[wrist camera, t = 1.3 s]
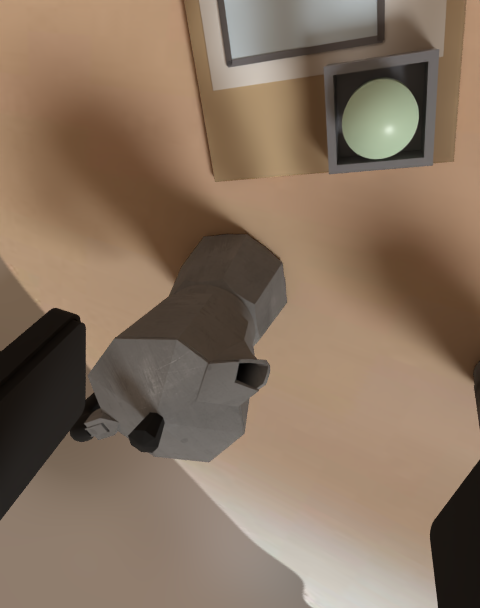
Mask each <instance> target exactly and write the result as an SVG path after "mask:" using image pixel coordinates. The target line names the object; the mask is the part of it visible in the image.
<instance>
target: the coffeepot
mask: <svg viewBox="0 0 480 608" xmlns="http://www.w3.org/2000/svg"><path fill="white" fill-rule="evenodd" d="M286 303H287V297H286V284H285V277H284V272H283V263H282V262H281V261H280V260H279V259H278V258H277V257H276V256H274V255H273V254H272V253H271V252H270V251H269V250H268V249H267V248H266V247H265V246H263V245H262V244H260V243H259V242H257V241H255V240H254V239H252V238H251V237H250V236H249V235H247V234H223V235H217V236H205V237H203V239H202V240H201V241H200V243H199V244H198V245H197V247H196V248H195V249H194V251H193V252H192V253H191V255H190V256H189V257H188V259H187V260H186V261H185V263H184V264H183V265H182V267H181V269H180V272H179V274H178V276H177V278H176V281H175V283H174V285H173V288H172V290H171V292H170V295H169V297H167V298H166V299H165V300H163V301H162V302H161V303H160V304H158V305H157V306H156V307H154V308H153V309H152V310H151V311H149V312H148V313H147V314H145V315H144V316H143V317H142V318H140V319H139V320H138V321H136V322H135V323H134V324H133V325H131V326H130V327H129V328H127V329H126V330H125V331H124V332H122V333H121V334H120V335H119V336H117V337H115V338H114V340H113V341H112V342H111V344H110V345H109V347H108V348H107V349H106V351H105V352H104V354H103V355H102V356H101V358H100V359H99V361H98V362H97V363H96V365H95V366H94V367H93V369H92V370H91V372H90V373H89V375H88V378H89V380H90V383H91V385H92V388H93V390H94V393H93V394H92V395H91V396H90V397H88V398H87V399H86V400H85V407H84V410H83V412H82V414H81V416H80V417H79V419H78V420H77V421H76V423H75V424H74V425H73V427H72V428H71V429H70V435H71V437H72V438H73V439H74V440H76V441H79V442H84V441H88V440H90V439H92V438H93V437H94V436H95V437H96V438H97V439H98V440H100V439H103V438H107V437H110V436H113V435H115V434H116V432H117V431H119V432H120V433H121V434H123V435H124V436H126V437H127V438H129V440H130V443H131V445H132V446H134V447H135V448H137V449H138V450H139V451H141V452H148V453H150V454H151V455H153V456H155V457H163V458H173V459H182V460H192V461H202V462H210V461H211V460H212V459H214V458H215V457H216V456H217V455H219V454H220V453H221V452H222V451H224V450H225V449H226V448H227V447H229V446H230V445H231V444H232V443H233V442H235V441H236V440H237V439H238V438H240V437H241V436H242V435H243V434H244V432H245V426H246V419H247V412H248V404H249V398H250V397H251V396H253V395H254V394H255V393H256V392H258V391H259V389H260V388H262V387H263V386H264V385H266V383H267V380H268V377H269V374H270V365H269V363H268V362H267V360H258V359H257V358H256V357H255V356H254V348H253V346H254V345H255V344H256V343H257V342H258V341H259V339H260V338H261V337H262V336H263V334H264V333H265V332H266V330H267V329H268V327H269V326H270V325H271V323H272V322H273V321H274V319H275V318H276V317H277V315H278V314H279V313H280V311H281V310H282V309H283V307H284V306H285V304H286Z"/></svg>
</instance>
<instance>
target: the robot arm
mask: <svg viewBox="0 0 480 608" xmlns="http://www.w3.org/2000/svg"><path fill="white" fill-rule="evenodd" d="M85 373H86V327H85V324H84V323H81V321H80V317H79V316H78V315H77V314H73V313H70V312H67V311H64V310H61V309H58V308H53V309H51V310H50V311H48V312H47V313H46V314H45V315H44V316H43V317H42V318H40V319H39V320H38V321H37V322H36V323H34V324H33V325H32V326H31V327H30V328H28V329H27V330H26V331H25V332H24V333H23V334H21V335H20V336H19V337H18V338H17V339H16V340H14V341H13V342H12V343H11V344H9V345H8V346H7V347H6V348H5V349H4V350H2V351H0V520H1V519H2V517H3V516H4V515H5V514H6V512H7V511H8V510H9V508H10V507H11V506H12V505H13V503H14V502H15V501H16V499H17V498H18V497H19V495H20V494H21V493H22V492H23V490H24V489H25V488H26V486H27V485H28V484H29V482H30V481H31V480H32V479H33V477H34V476H35V475H36V473H37V472H38V470H39V469H40V468H41V467H42V466H43V464H44V463H45V462H46V460H47V459H48V458H49V457H50V455H51V454H52V453H53V451H54V450H55V449H56V447H57V446H58V445H59V444H60V442H61V441H62V440H63V438H64V437H65V436H66V434H67V433H68V432H69V431H70V429H71V428H72V427H73V425H74V424H75V423H76V421H77V420H78V419H79V417H80V416H81V414H82V412H83V410H84V407H85V386H86V384H85V383H86V377H85V375H86V374H85ZM430 542H431V551H432V559H433V568H434V576H435V584H436V593H437V601H438V608H480V460H479V461H478V463H477V464H476V465H475V467H474V468H473V469H472V471H471V472H470V473H469V475H468V476H467V477H466V479H465V480H464V481H463V483H462V484H461V485H460V487H459V488H458V489H457V491H456V492H455V493H454V495H453V496H452V497H451V499H450V500H449V501H448V503H447V504H446V505H445V507H444V508H443V509H442V511H441V512H440V513H439V515H438V516H437V517H436V519H435V520H434V522H433V523H432V526H431V530H430Z"/></svg>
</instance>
